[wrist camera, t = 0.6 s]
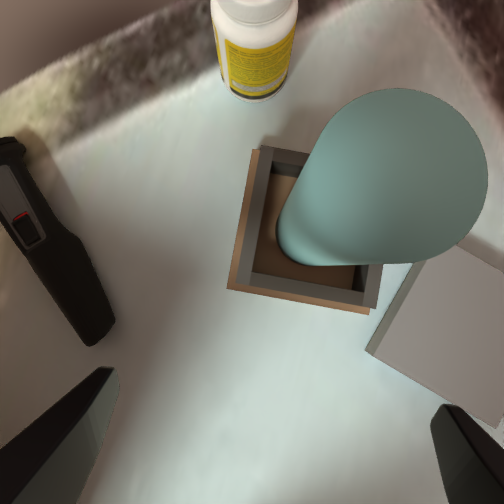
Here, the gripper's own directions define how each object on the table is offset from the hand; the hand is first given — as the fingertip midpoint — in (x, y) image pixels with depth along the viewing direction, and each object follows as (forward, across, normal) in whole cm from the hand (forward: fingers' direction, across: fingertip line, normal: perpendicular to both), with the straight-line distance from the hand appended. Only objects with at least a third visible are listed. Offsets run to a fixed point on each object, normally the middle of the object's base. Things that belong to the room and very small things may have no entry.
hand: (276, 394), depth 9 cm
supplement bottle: (+21, +2, -7) cm, 22 cm away
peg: (+14, -2, +2) cm, 14 cm away
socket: (+15, -2, +2) cm, 15 cm away
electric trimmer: (+14, +15, +4) cm, 21 cm away
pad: (+12, -13, +7) cm, 19 cm away
